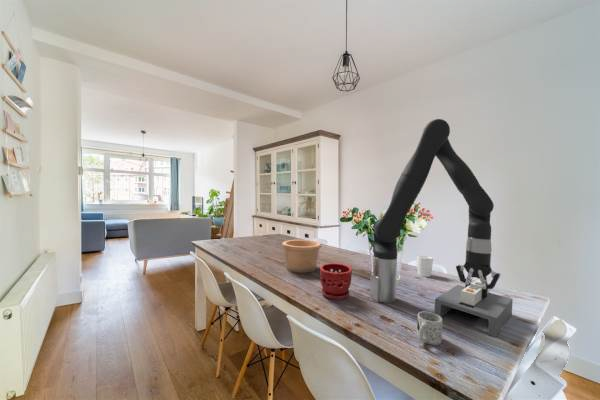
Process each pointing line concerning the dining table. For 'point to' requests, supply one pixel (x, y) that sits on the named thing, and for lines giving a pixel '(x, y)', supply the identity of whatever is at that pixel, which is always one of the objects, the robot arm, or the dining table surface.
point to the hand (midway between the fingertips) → (475, 296)
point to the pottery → (301, 255)
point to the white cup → (424, 265)
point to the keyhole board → (478, 308)
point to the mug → (429, 328)
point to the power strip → (472, 293)
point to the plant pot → (335, 280)
